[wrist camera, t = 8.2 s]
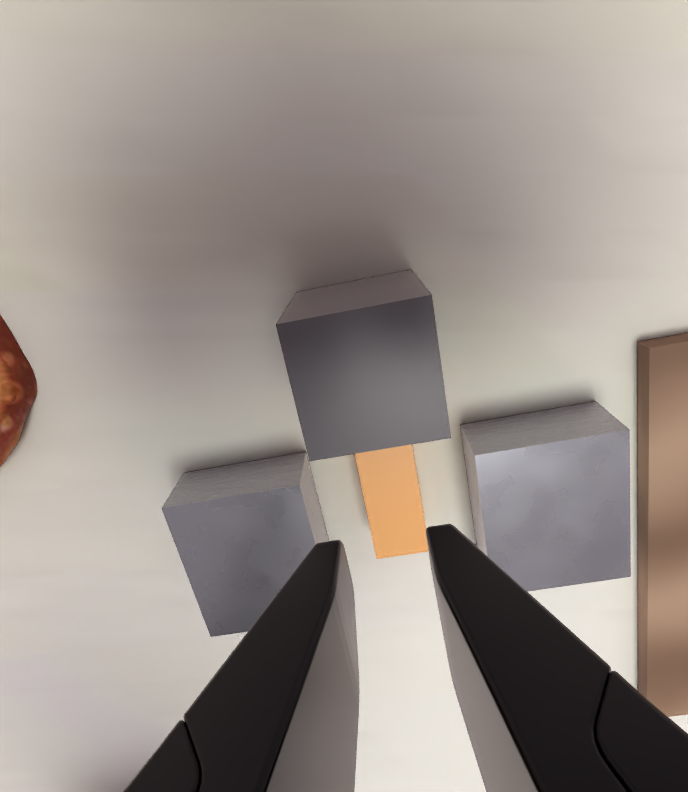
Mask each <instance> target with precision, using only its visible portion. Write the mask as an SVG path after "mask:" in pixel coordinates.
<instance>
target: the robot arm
mask: <svg viewBox="0 0 688 792" xmlns="http://www.w3.org/2000/svg"><path fill="white" fill-rule="evenodd" d="M426 538H427V545H428V551H429V557H430V563H431V570H432V576H433V581H434V587H435V592H436V597H437V603H438V608H439V614H440V619H441V624H442V630H443V635H444V640H445V646H446V651H447V657H448V662H449V667H450V671H451V676H452V681H453V684H454V688H455V691H456V695H457V698H458V702H459V705H460V708H461V711H462V714H463V718H464V721H465V724H466V727H467V731H468V734H469V737H470V740H471V743H472V747H473V750H474V753H475V756H476V760H477V763H478V766H479V769H480V772H481V776H482V779H483V782H484V785H485V789H486V792H688V734H687V733H686V732H685V731H684V730H683V729H681V728H680V727H679V726H678V725H677V724H675V723H674V722H673V721H672V720H671V719H670V718H668V717H667V716H666V715H665V714H664V713H663V712H661V711H660V710H659V709H658V708H657V707H656V706H654V705H653V704H652V703H651V702H650V701H649V700H647V699H646V698H645V697H644V696H643V695H642V694H640V693H639V692H638V691H637V690H636V689H635V688H634V687H633V686H632V685H630V684H629V683H628V682H627V681H626V680H625V679H624V678H623V677H622V676H621V675H620V674H618V673H617V672H616V671H611V667H610V666H609V665H608V664H607V663H606V662H605V661H604V660H602V659H601V658H600V657H599V656H598V655H597V654H596V653H595V652H594V651H592V650H591V649H590V648H589V647H588V646H587V645H586V644H585V643H584V642H582V641H581V640H580V639H579V638H578V637H577V636H576V635H575V634H574V633H572V632H571V631H570V630H569V629H568V628H567V627H566V626H565V625H564V624H562V623H561V622H560V621H559V620H558V619H557V618H556V617H555V616H554V615H552V614H551V613H550V612H549V611H548V610H547V609H546V608H545V607H544V606H542V605H541V604H540V603H539V602H538V601H537V600H536V599H535V598H534V597H532V596H531V595H530V594H529V593H528V592H527V591H526V590H525V589H523V588H522V587H521V586H520V585H519V584H518V583H517V582H516V581H515V580H513V579H512V578H511V577H510V576H509V575H508V574H507V573H506V572H505V571H503V570H502V569H501V568H500V567H499V566H498V565H497V564H496V563H495V562H493V561H492V560H491V559H490V558H489V557H488V556H487V555H486V554H485V553H483V552H482V551H481V550H480V549H479V548H478V547H477V546H476V545H475V544H473V543H472V542H471V541H470V540H469V539H468V538H467V537H466V536H465V535H463V534H462V533H461V532H460V531H459V530H458V529H457V528H456V527H455V526H453V525H451V524H445V525H438V526H432V527H428V528H427V529H426ZM358 716H359V669H358V652H357V635H356V619H355V602H354V590H353V583H352V579H351V574H350V570H349V566H348V561H347V557H346V553H345V548H344V545H343V543H342V542H341V541H340V540H334V541H327V542H320V543H317V544H316V545H314V547H313V548H312V549H311V550H310V552H309V553H308V554H307V556H306V557H305V558H304V560H303V561H302V562H301V563H300V565H299V566H298V567H297V569H296V570H295V571H294V573H293V574H292V575H291V576H290V578H289V579H288V580H287V582H286V583H285V584H284V586H283V587H282V588H281V590H280V591H279V592H278V593H277V595H276V596H275V597H274V599H273V600H272V601H271V603H270V604H269V605H268V606H267V608H266V609H265V610H264V612H263V613H262V614H261V616H260V617H259V618H258V619H257V621H256V622H255V623H254V625H253V626H252V627H251V629H250V630H249V631H248V632H247V634H246V635H245V636H244V638H243V639H242V640H241V642H240V643H239V644H238V645H237V647H236V648H235V649H234V651H233V652H232V653H231V655H230V656H229V657H228V658H227V660H226V661H225V662H224V664H223V665H222V666H221V668H220V669H219V670H218V671H217V673H216V674H215V675H214V677H213V678H212V679H211V681H210V682H209V683H208V684H207V686H206V687H205V688H204V690H203V691H202V692H201V694H200V695H199V696H198V697H197V699H196V700H195V701H194V703H193V704H192V705H191V707H190V708H189V709H188V710H187V712H186V713H185V714H184V721H185V722H184V721H183V720H181V721H179V722H178V723H177V724H176V726H175V727H174V728H173V730H172V731H171V732H170V734H169V735H168V736H167V737H166V739H165V740H164V741H163V743H162V744H161V745H160V747H159V748H158V749H157V750H156V752H155V753H154V754H153V755H152V757H151V758H150V759H149V760H148V761H147V763H146V764H145V765H144V766H143V768H142V769H141V770H140V771H139V773H138V774H137V775H136V776H135V778H134V779H133V780H132V781H131V783H130V784H129V785H128V786H127V788H126V789H125V790H124V791H123V792H354V787H355V769H356V751H357V734H358Z"/></svg>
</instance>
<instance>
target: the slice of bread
mask: <svg viewBox="0 0 688 792" xmlns="http://www.w3.org/2000/svg"><path fill="white" fill-rule="evenodd" d="M36 395H37V382H36V378H35V375H34V372H33V369H32V367H31V365H30V364H29V362H28V360H27V359H26V357H25V355H24V354H23V352H22V350H21V348H20V346H19V345H18V343H17V341H16V339H15V338H14V336H13V334H12V332H11V331H10V329H9V327H8V326H7V324H6V323H5V321H4V320H3V318H2V317H1V315H0V467H1V466H2V464H3V463H4V462H5V461H6V459H7V458H8V456H9V455H10V454H11V452H12V451H13V449H14V448H15V446H16V445H17V443H18V441H19V438H20V436H21V433H22V429H23V426H24V423H25V420H26V417H27V415H28V412H29V410H30V408H31V406H32V404H33V402H34V400H35V398H36Z"/></svg>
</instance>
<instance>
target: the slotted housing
mask: <svg viewBox="0 0 688 792" xmlns="http://www.w3.org/2000/svg"><path fill="white" fill-rule="evenodd" d="M460 426H461V433H462V440H463V448H464V455H465V463H466V470H467V477H468V485H469V492H470V500H471V507H472V514H473V522H474V529H475V537H476V544H477V547H478V548H479V549H480V550H481V551H482V552H483V553H485V554H486V555H487V556H488V557H489V558H490V559H491V560H492V561H493V562H495V563H496V564H497V565H498V566H499V567H500V568H501V569H502V570H503V571H505V572H506V573H507V574H508V575H509V576H510V577H511V578H512V579H513V580H515V581H516V582H517V583H518V584H519V585H520V586H521V587H522V588H523V589H525V590H526V591H534V590H541V589H548V588H555V587H562V586H569V585H575V584H582V583H589V582H596V581H603V580H610V579H617V578H624V577H631V569H630V443H629V429H628V428H627V427H626V426H625V425H623V424H622V423H621V422H620V421H619V420H618V419H616V418H615V417H614V416H613V415H612V414H610V413H609V412H608V411H607V410H606V409H604V408H603V407H602V406H601V405H600V404H598V403H597V402H596V401H594V402H588V403H582V404H577V405H571V406H565V407H559V408H554V409H548V410H542V411H536V412H531V413H525V414H519V415H513V416H508V417H502V418H496V419H491V420H485V421H479V422H473V423H468V424H462V425H460ZM162 511H163V513H164V516H165V518H166V521H167V524H168V526H169V529H170V531H171V534H172V537H173V539H174V542H175V544H176V547H177V550H178V552H179V555H180V558H181V560H182V563H183V565H184V568H185V571H186V573H187V576H188V578H189V581H190V584H191V586H192V589H193V591H194V594H195V597H196V599H197V602H198V604H199V607H200V610H201V612H202V615H203V618H204V620H205V623H206V625H207V628H208V631H209V633H210V636H211V637H212V636H219V635H226V634H233V633H240V632H247V631H249V630H250V629H251V627H252V626H253V625H254V623H255V622H256V621H257V619H258V618H259V617H260V616H261V614H262V613H263V612H264V610H265V609H266V608H267V606H268V605H269V604H270V603H271V601H272V600H273V599H274V597H275V596H276V595H277V593H278V592H279V591H280V590H281V588H282V587H283V586H284V584H285V583H286V582H287V580H288V579H289V578H290V576H291V575H292V574H293V573H294V571H295V570H296V569H297V567H298V566H299V565H300V563H301V562H302V561H303V560H304V558H305V557H306V556H307V554H308V553H309V552H310V550H311V549H312V548H313V547H314V545H316V544H317V543H320V542H327V541H329V539H328V535H327V531H326V527H325V524H324V520H323V516H322V512H321V508H320V504H319V500H318V496H317V492H316V488H315V485H314V481H313V477H312V473H311V469H310V465H309V461H308V457H307V453H306V452H301V453H295V454H289V455H284V456H278V457H272V458H267V459H261V460H255V461H249V462H244V463H238V464H232V465H226V466H221V467H215V468H209V469H203V470H198V471H192V472H186V473H183V475H182V476H181V478H180V480H179V481H178V483H177V484H176V486H175V488H174V489H173V491H172V492H171V494H170V496H169V497H168V499H167V500H166V502H165V504H164V505H163V507H162Z"/></svg>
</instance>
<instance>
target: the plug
mask: <svg viewBox="0 0 688 792" xmlns="http://www.w3.org/2000/svg"><path fill="white" fill-rule="evenodd" d="M276 327H277V331H278V335H279V339H280V343H281V347H282V351H283V355H284V360H285V364H286V368H287V372H288V376H289V380H290V384H291V388H292V392H293V396H294V400H295V404H296V408H297V412H298V416H299V420H300V424H301V428H302V433H303V437H304V441H305V445H306V449H307V453H308V457H309V461H314V460H320V459H326V458H332V457H338V456H344V455H350V454H355V458H356V463H357V468H358V472H359V477H360V482H361V487H362V491H363V496H364V501H365V506H366V510H367V515H368V520H369V525H370V529H371V534H372V539H373V544H374V548H375V553H376V558H377V559H379V558H386V557H393V556H400V555H407V554H413V553H420V552H427V551H428V545H427V538H426V526H425V520H424V513H423V507H422V501H421V495H420V489H419V483H418V477H417V471H416V465H415V459H414V453H413V447H412V444H417V443H423V442H429V441H435V440H441V439H447V438H451V434H450V427H449V419H448V412H447V404H446V397H445V390H444V382H443V375H442V368H441V360H440V353H439V346H438V338H437V331H436V323H435V316H434V309H433V301H432V295H431V293H430V292H429V291H428V290H427V288H426V287H425V286H424V285H423V283H422V282H421V281H420V280H419V278H418V277H417V276H416V275H415V273H414V272H413V271H412V270H406V271H401V272H396V273H391V274H386V275H381V276H376V277H371V278H366V279H360V280H355V281H350V282H345V283H340V284H335V285H330V286H325V287H320V288H314V289H309V290H304V291H299V292H297V293H296V294H295V296H294V297H293V299H292V300H291V302H290V303H289V305H288V306H287V308H286V309H285V311H284V313H283V314H282V316H281V317H280V319H279V320H278V322H277V323H276Z"/></svg>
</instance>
